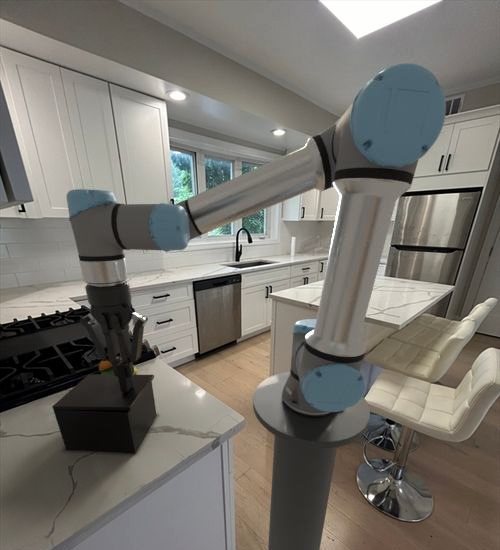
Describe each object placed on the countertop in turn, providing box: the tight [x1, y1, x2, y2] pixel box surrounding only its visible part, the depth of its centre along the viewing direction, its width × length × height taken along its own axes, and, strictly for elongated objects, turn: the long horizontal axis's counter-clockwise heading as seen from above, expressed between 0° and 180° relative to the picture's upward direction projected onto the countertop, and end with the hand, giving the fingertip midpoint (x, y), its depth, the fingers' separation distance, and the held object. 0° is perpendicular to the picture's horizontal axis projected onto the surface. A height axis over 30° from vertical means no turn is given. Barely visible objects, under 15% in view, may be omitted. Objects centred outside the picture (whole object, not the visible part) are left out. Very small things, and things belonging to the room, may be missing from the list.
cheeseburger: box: [98, 358, 138, 375], centre depth 86 cm, size 10×11×10 cm
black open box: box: [53, 380, 158, 454], centre depth 64 cm, size 16×13×11 cm
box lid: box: [51, 373, 155, 410], centre depth 62 cm, size 16×13×1 cm
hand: (127, 388), depth 61 cm, fingers closed
